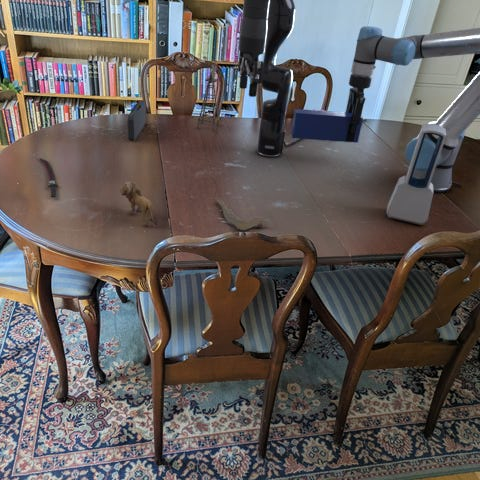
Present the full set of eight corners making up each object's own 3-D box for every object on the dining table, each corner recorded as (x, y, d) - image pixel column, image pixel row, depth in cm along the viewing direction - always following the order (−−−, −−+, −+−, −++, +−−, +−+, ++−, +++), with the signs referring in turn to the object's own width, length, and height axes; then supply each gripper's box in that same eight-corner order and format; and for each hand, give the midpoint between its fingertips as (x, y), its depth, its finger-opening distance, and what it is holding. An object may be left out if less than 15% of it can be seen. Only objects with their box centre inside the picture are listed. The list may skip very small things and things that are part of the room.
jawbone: (250, 238, 132) (250, 232, 131) (198, 212, 143) (198, 206, 141) (269, 225, 138) (269, 219, 137) (218, 201, 148) (218, 195, 147)
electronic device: (425, 217, 152) (456, 128, 136) (425, 227, 146) (458, 136, 130) (386, 208, 155) (413, 120, 139) (385, 218, 149) (412, 127, 133)
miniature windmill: (214, 131, 201) (219, 58, 184) (195, 128, 202) (199, 55, 185) (219, 124, 208) (224, 54, 192) (201, 122, 209) (205, 51, 193)
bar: (292, 138, 173) (296, 112, 168) (291, 133, 177) (294, 108, 172) (357, 142, 175) (363, 117, 170) (354, 138, 179) (360, 113, 174)
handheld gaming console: (139, 121, 202) (139, 98, 197) (146, 122, 202) (145, 99, 197) (127, 140, 183) (126, 115, 178) (134, 141, 183) (133, 116, 178)
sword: (61, 197, 141) (61, 193, 140) (50, 198, 139) (50, 194, 139) (49, 160, 164) (48, 156, 163) (39, 160, 163) (39, 157, 162)
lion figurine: (118, 210, 138) (116, 182, 133) (132, 204, 141) (131, 177, 137) (151, 229, 130) (150, 201, 126) (165, 223, 134) (165, 195, 129)
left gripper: (274, 40, 128) (267, 99, 137) (256, 30, 139) (251, 85, 148) (249, 39, 125) (243, 99, 134) (233, 29, 137) (228, 85, 145)
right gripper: (378, 82, 157) (363, 147, 169) (365, 69, 172) (352, 130, 184) (356, 80, 156) (343, 146, 168) (345, 68, 171) (333, 129, 184)
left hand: (247, 92), depth 141 cm, fingers open, 8 cm apart
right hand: (347, 138), depth 176 cm, fingers closed on bar, 5 cm apart
